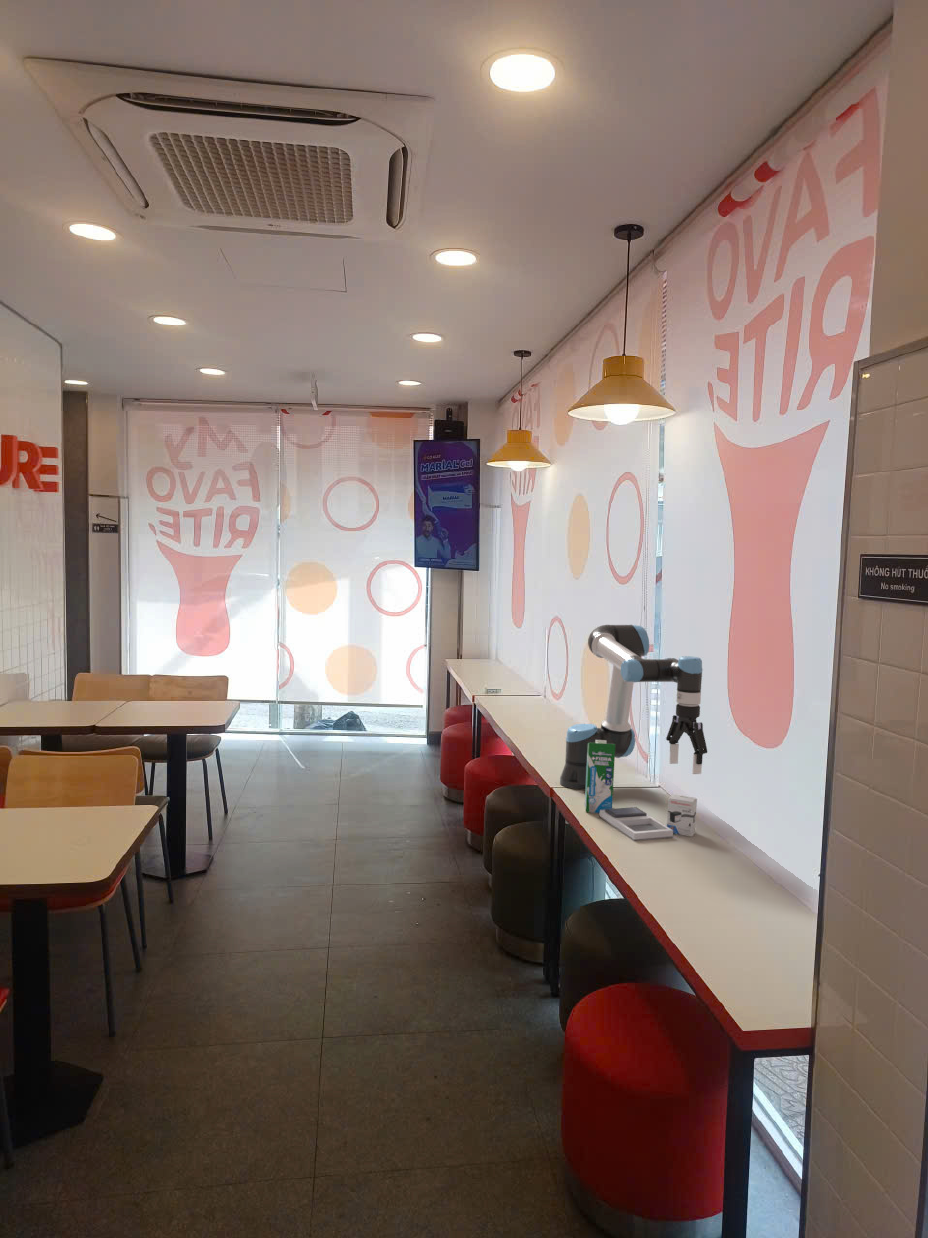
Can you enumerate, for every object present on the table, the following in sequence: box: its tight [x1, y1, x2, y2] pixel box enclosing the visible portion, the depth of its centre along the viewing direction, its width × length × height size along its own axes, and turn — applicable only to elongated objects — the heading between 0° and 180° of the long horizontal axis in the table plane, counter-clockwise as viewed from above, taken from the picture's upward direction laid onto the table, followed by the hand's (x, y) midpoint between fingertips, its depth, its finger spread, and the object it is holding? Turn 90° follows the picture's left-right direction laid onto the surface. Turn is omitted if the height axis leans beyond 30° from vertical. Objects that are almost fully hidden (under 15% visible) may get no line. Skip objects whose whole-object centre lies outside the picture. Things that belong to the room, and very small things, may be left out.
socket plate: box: [599, 810, 674, 842], centre depth 276 cm, size 24×14×2 cm, turn 18°
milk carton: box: [584, 740, 616, 814], centre depth 293 cm, size 9×9×25 cm
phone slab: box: [605, 806, 648, 818], centre depth 282 cm, size 7×12×1 cm, turn 108°
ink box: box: [666, 793, 698, 837], centre depth 272 cm, size 8×5×12 cm, turn 62°
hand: (684, 768), depth 270 cm, fingers open, 13 cm apart
